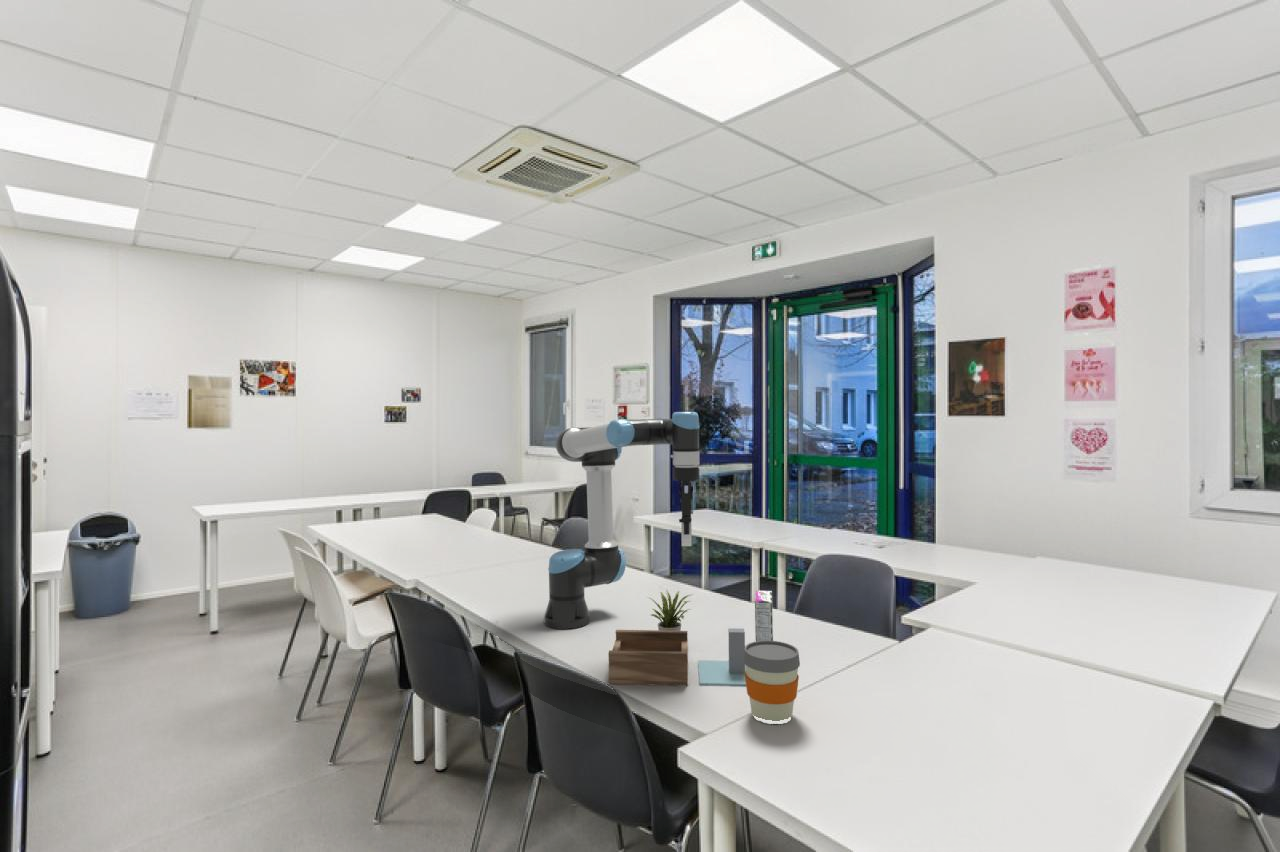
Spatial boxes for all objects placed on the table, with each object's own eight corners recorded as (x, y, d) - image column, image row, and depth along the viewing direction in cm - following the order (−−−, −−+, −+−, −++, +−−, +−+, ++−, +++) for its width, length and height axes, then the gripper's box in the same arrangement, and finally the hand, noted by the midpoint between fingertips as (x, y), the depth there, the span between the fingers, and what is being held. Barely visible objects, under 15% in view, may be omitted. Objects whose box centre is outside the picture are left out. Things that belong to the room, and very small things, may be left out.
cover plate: (698, 663, 175) (697, 620, 175) (771, 665, 174) (770, 621, 174) (699, 687, 160) (699, 639, 160) (779, 688, 159) (779, 640, 159)
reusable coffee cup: (789, 734, 135) (789, 664, 135) (734, 720, 142) (734, 653, 141) (807, 711, 146) (807, 646, 145) (755, 698, 152) (755, 636, 152)
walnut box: (616, 659, 178) (616, 629, 178) (687, 660, 177) (687, 630, 176) (608, 684, 161) (608, 652, 161) (687, 686, 159) (687, 653, 159)
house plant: (707, 645, 188) (707, 590, 188) (677, 658, 178) (677, 600, 178) (670, 634, 198) (670, 582, 198) (640, 646, 188) (640, 591, 188)
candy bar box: (755, 644, 188) (755, 589, 188) (773, 645, 187) (772, 590, 187) (755, 658, 177) (754, 600, 177) (773, 660, 176) (772, 601, 176)
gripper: (673, 463, 192) (674, 532, 192) (671, 470, 167) (672, 550, 167) (698, 463, 191) (699, 533, 192) (700, 469, 166) (700, 550, 167)
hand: (686, 541), depth 179 cm, fingers open, 13 cm apart
